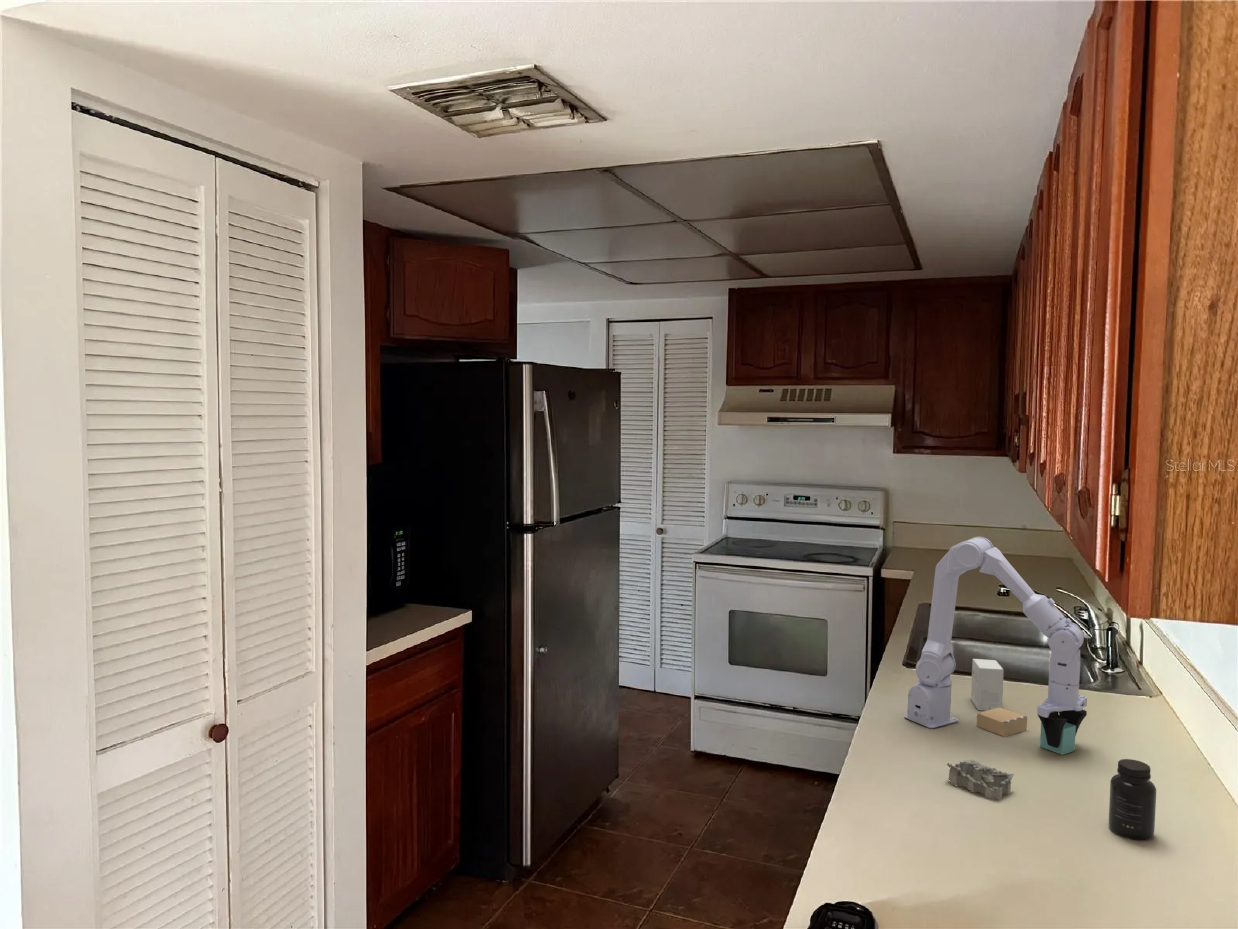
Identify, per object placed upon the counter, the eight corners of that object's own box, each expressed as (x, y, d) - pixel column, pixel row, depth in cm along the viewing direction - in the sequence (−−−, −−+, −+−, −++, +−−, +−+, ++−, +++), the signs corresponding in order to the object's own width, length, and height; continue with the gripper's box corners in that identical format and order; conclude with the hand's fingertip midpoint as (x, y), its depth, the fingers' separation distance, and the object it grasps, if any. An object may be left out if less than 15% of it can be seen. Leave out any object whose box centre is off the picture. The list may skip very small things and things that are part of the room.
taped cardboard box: (1004, 736, 189) (1004, 722, 189) (976, 726, 195) (977, 712, 195) (1026, 730, 193) (1027, 716, 193) (998, 720, 199) (999, 706, 199)
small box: (1002, 713, 204) (1004, 669, 203) (977, 710, 205) (979, 667, 204) (994, 701, 212) (996, 659, 211) (970, 699, 213) (972, 658, 212)
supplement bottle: (1111, 818, 152) (1115, 752, 151) (1156, 831, 148) (1161, 763, 147) (1104, 832, 147) (1108, 765, 146) (1150, 846, 143) (1155, 776, 142)
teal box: (1062, 755, 179) (1063, 728, 179) (1039, 746, 184) (1041, 721, 183) (1074, 750, 182) (1075, 725, 181) (1052, 742, 186) (1053, 717, 185)
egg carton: (943, 783, 166) (943, 762, 166) (964, 773, 171) (965, 753, 170) (995, 803, 158) (996, 782, 157) (1016, 792, 162) (1017, 771, 162)
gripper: (1061, 692, 174) (1057, 757, 175) (1102, 681, 181) (1098, 744, 182) (1029, 682, 180) (1026, 745, 181) (1070, 672, 187) (1067, 732, 188)
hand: (1060, 743), depth 182 cm, fingers open, 5 cm apart
